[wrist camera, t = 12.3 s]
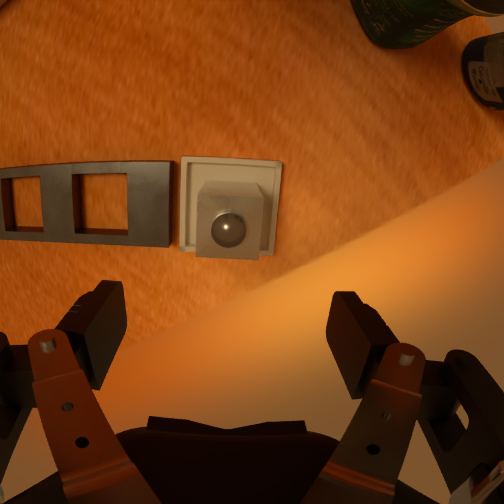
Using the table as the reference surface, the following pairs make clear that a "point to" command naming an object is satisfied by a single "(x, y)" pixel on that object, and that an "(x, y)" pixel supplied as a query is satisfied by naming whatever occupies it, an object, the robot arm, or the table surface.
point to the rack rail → (69, 203)
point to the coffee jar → (417, 18)
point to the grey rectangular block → (229, 220)
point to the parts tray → (229, 169)
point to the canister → (486, 69)
